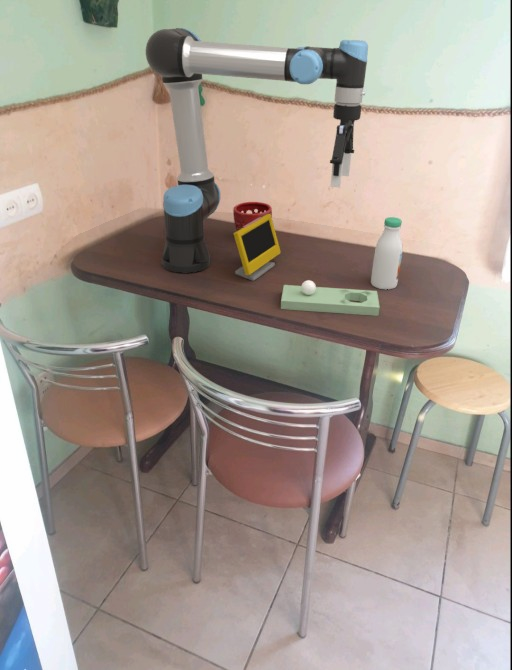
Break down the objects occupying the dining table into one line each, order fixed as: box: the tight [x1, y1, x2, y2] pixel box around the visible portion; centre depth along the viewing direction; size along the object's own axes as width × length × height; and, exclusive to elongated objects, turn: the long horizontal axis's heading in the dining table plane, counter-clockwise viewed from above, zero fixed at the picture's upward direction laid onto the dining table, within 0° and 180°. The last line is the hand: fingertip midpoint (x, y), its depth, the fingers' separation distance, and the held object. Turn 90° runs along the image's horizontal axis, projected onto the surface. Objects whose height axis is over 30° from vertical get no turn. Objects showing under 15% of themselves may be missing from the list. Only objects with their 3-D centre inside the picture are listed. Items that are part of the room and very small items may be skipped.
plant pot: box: [232, 201, 273, 232], centre depth 187 cm, size 13×13×12 cm
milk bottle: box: [370, 216, 404, 291], centre depth 155 cm, size 8×8×20 cm
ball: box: [300, 279, 317, 295], centre depth 147 cm, size 4×4×4 cm
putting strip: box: [280, 284, 381, 317], centre depth 148 cm, size 26×10×2 cm, turn 83°
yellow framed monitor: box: [233, 214, 281, 282], centre depth 164 cm, size 20×8×16 cm, turn 151°
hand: (339, 181), depth 160 cm, fingers open, 13 cm apart
